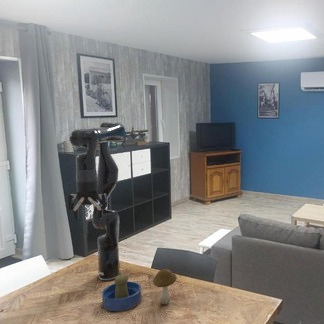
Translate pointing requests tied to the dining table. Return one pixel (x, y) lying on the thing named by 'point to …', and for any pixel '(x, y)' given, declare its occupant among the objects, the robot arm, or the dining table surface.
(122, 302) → the bowl
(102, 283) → the dining table surface
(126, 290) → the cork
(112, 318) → the dining table surface
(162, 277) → the mushroom
